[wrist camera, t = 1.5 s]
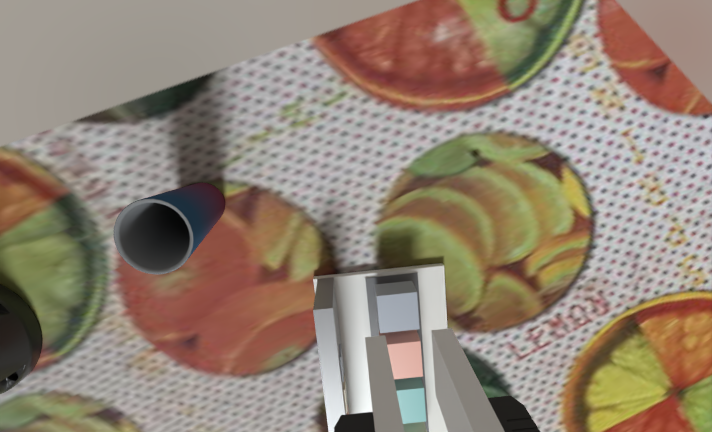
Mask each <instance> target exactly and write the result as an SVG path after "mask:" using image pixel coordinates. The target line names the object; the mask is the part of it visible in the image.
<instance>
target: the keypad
mask: <svg viewBox="0 0 712 432" xmlns="http://www.w3.org/2000/svg"><path fill="white" fill-rule="evenodd" d="M313 280H314V288H315V301H314V308H313V312H314V320H315V328H316V336H317V344H318V351H319V359H320V367H321V375H322V383H323V390H324V398H325V406H326V414H327V422H328V429H329V432H334V427H335V425H336V423H337V421H338V420H339V418H340V416H341V415H347V414H356V413H365V412H373V411H372V402H371V392H370V382H369V372H368V362H367V353H366V343H365V337H373V336H379V331H380V330H379V325H378V319H377V308H376V297H375V287H374V285H375V284H385V283H395V282H404V281H412V282H413V284H414V286H415V289H416V291H417V300H418V313H419V327H420V329H416V330H417V333H418V335H419V338H420V341H421V355H422V369H423V377H421V380H422V383H423V387H424V396H425V410H426V422H424V423H425V426H426V430H427V432H448V430H447V427H446V424H445V421H444V418H443V415H442V412H441V409H440V406H439V403H438V401H437V398H436V393H435V378H434V363H433V348H432V333H431V330H439V329H448V328H447V311H446V293H445V276H444V265H443V264H442V263H438V264H428V265H419V266H409V267H399V268H390V269H380V270H371V271H361V272H351V273H342V274H332V275H323V276H314V278H313Z"/></svg>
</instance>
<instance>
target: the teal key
mask: <svg viewBox="0 0 712 432" xmlns="http://www.w3.org/2000/svg"><path fill="white" fill-rule="evenodd" d="M394 381H395V386H396V391H397V396H398V401H399V406H400V411H401V416H402V421H403V424H407V423H416V422H426V410H425V396H424V387H423V383H422V380H421V377H413V378H404V379H394Z"/></svg>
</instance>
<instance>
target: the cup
mask: <svg viewBox="0 0 712 432" xmlns="http://www.w3.org/2000/svg"><path fill="white" fill-rule="evenodd" d="M224 209H225V200H224V197H223V195H222V193H221V192H220V191H219V189H217V188H216V187H215V186H213V185H211V184H208V183H196V184H193V185H189V186H186V187H182V188H179V189H175V190H172V191H169V192H165V193H162V194H158V195H155V196H151V197H148V198H144V199H141V200H138V201H135V202H133V203H131V204H129V205H128V206H127V207H125V208H124V209H123V210H122V212H121V213H120V214H119V216H118V218H117V220H116V223H115V226H114V241H115V244H116V247H117V250H118V251H119V253H120V255H121V256H122V257H123V259H124V260H125V261H126V262H127V263H128V264H130V265H131V266H132V267H134V268H136V269H137V270H139V271H142V272H145V273H150V274H165V273H169V272H172V271H174V270H176V269H178V268H179V267H180V266H182V265H183V264H184V263H185V262H186V261H187V259H188V258H189V257H190V256H191V254H192V253H193V252H194V250H195V249H196V248H197V247H198V245H199V244H200V243H201V242H202V240H203V239H204V238H205V236H206V235H207V234H208V233H209V231H210V230H211V229H212V228H213V226H214V225H215V224H216V222H217V221H218V220H219V219H220V217H221V216H222V214H223V212H224Z"/></svg>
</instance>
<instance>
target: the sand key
mask: <svg viewBox="0 0 712 432" xmlns="http://www.w3.org/2000/svg"><path fill="white" fill-rule="evenodd" d="M403 426H404V431H405V432H427V430H426V426H425V423H424V422H416V423H407V424H403Z"/></svg>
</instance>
